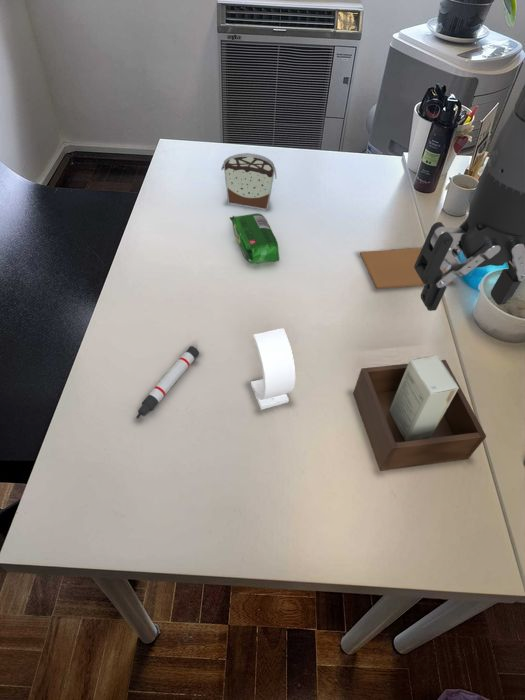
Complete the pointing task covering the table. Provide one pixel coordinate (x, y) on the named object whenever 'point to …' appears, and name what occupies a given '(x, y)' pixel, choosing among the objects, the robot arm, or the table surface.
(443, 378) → the cosmetic box
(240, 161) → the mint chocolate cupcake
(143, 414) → the marker
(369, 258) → the mat
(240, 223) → the snack package
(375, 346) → the table surface
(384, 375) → the compartment
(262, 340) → the headphone stand
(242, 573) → the table surface
